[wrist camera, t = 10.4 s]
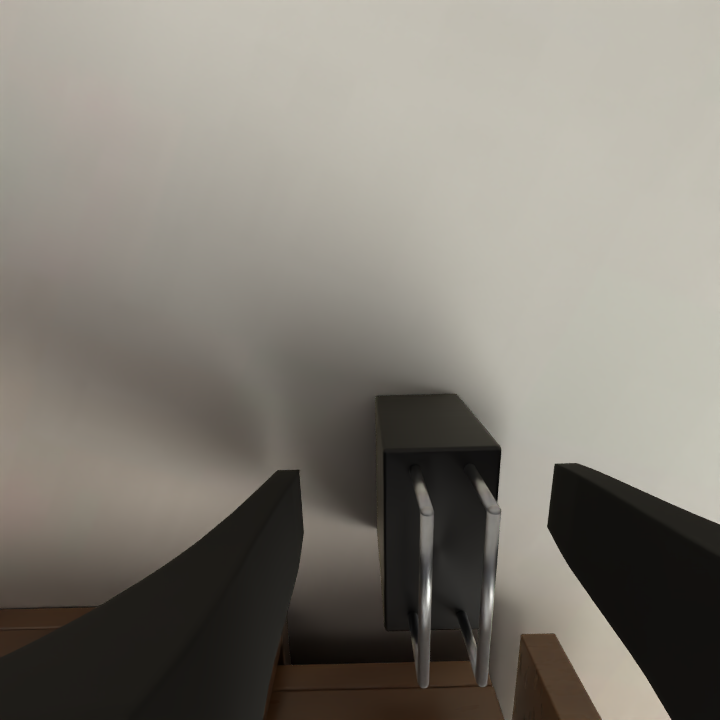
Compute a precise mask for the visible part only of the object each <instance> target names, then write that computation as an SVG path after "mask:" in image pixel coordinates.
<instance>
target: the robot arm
mask: <svg viewBox="0 0 720 720" xmlns="http://www.w3.org/2000/svg"><path fill="white" fill-rule="evenodd" d="M547 527H548V529H549V531H550V533H551V535H552V537H553V539H554V541H555V543H556V544H557V546H558V548H559V550H560V552H561V554H562V555H563V557H564V559H565V561H566V562H567V564H568V565H569V567H570V568H571V570H572V571H573V573H574V574H575V576H576V577H577V579H578V580H579V581H580V583H581V584H582V586H583V587H584V589H585V590H586V591H587V593H588V594H589V596H590V597H591V599H592V600H593V601H594V603H595V604H596V606H597V607H598V608H599V610H600V611H601V613H602V614H603V615H604V617H605V618H606V620H607V621H608V623H609V624H610V625H611V627H612V628H613V630H614V631H615V632H616V634H617V635H618V637H619V638H620V639H621V641H622V642H623V644H624V645H625V646H626V648H627V649H628V651H629V652H630V654H631V655H632V657H633V658H634V660H635V661H636V663H637V664H638V666H639V667H640V669H641V670H642V672H643V673H644V675H645V676H646V678H647V679H648V681H649V683H650V684H651V686H652V688H653V689H654V691H655V693H656V694H657V696H658V698H659V699H660V701H661V703H662V704H663V706H664V708H665V709H666V711H667V713H668V715H669V716H670V718H671V720H720V524H717V523H715V522H712V521H710V520H707V519H705V518H703V517H700V516H698V515H695V514H693V513H691V512H688V511H686V510H684V509H681V508H679V507H677V506H675V505H672V504H670V503H668V502H666V501H663V500H661V499H659V498H657V497H654V496H652V495H650V494H648V493H645V492H643V491H641V490H639V489H637V488H634V487H632V486H630V485H628V484H626V483H623V482H621V481H619V480H617V479H615V478H612V477H610V476H608V475H605V474H603V473H601V472H599V471H596V470H594V469H591V468H589V467H586V466H583V465H580V464H577V463H566V464H555V466H554V474H553V483H552V491H551V500H550V508H549V516H548V525H547ZM303 534H304V530H303V516H302V502H301V488H300V475H299V470H278V471H277V472H275V473H274V474H273V475H272V476H271V477H270V478H269V479H268V480H267V481H266V482H265V483H264V484H263V485H262V486H261V487H260V488H259V489H258V490H256V491H255V492H254V493H253V494H252V495H251V496H250V497H249V498H248V499H247V500H246V501H245V502H244V503H243V504H242V505H240V506H239V507H238V508H237V509H236V510H235V511H234V512H233V513H232V514H230V515H229V516H228V517H227V518H226V519H224V520H223V521H222V522H221V523H220V524H218V525H217V526H216V527H215V528H214V529H212V530H211V531H210V532H209V533H208V534H206V535H205V536H204V537H203V538H202V539H200V540H199V541H198V542H196V543H195V544H194V545H192V546H191V547H190V548H188V549H187V550H186V551H184V552H183V553H182V554H180V555H179V556H177V557H176V558H175V559H173V560H172V561H170V562H169V563H167V564H166V565H165V566H163V567H162V568H160V569H159V570H157V571H156V572H154V573H153V574H151V575H149V576H148V577H146V578H145V579H143V580H141V581H140V582H138V583H136V584H135V585H133V586H132V587H130V588H128V589H127V590H125V591H124V592H122V593H120V594H119V595H117V596H115V597H114V598H112V599H111V600H109V601H107V602H106V603H104V604H102V605H100V606H99V607H97V608H95V609H93V610H91V611H90V612H88V613H86V614H84V615H82V616H81V617H79V618H77V619H75V620H73V621H72V622H70V623H68V624H66V625H64V626H62V627H60V628H58V629H56V630H54V631H53V632H51V633H49V634H47V635H45V636H43V637H41V638H39V639H37V640H35V641H33V642H31V643H29V644H27V645H25V646H23V647H21V648H19V649H17V650H15V651H13V652H11V653H9V654H7V655H5V656H2V657H0V720H263V716H264V710H265V705H266V699H267V694H268V688H269V683H270V679H271V674H272V670H273V665H274V661H275V657H276V653H277V649H278V646H279V642H280V638H281V634H282V630H283V627H284V623H285V619H286V615H287V611H288V608H289V604H290V600H291V596H292V592H293V588H294V584H295V581H296V577H297V573H298V569H299V562H300V555H301V548H302V541H303Z"/></svg>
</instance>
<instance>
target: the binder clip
mask: <svg viewBox="0 0 720 720" xmlns="http://www.w3.org/2000/svg"><path fill="white" fill-rule="evenodd" d="M375 424H376V490H377V536H378V549H379V563H380V576H381V590H382V603H383V616H384V627H385V629H386V631H410V634H411V641H412V648H413V655H414V661H415V668H416V675H417V682H418V685H419V686H420V687H421V688H423V689H425V688H427V687H428V685H429V667H430V633H431V630H455V629H461V632H462V636H463V639H464V642H465V646H466V649H467V653H468V656H469V660H470V663H471V667H472V670H473V673H474V677H475V680H476V683H477V684H478V685H479V686H480V687H485V686H486V685H487V680H488V668H489V655H490V643H491V631H492V618H493V606H494V593H495V581H496V568H497V556H498V543H499V531H500V519H501V509H500V507H499V505H498V504H497V499H498V486H499V473H500V460H501V447H500V445H499V444H498V443H497V442H496V441H495V439H494V438H493V437H492V436H491V435H490V433H489V432H488V431H487V430H486V429H485V427H484V426H483V425H482V424H481V423H480V421H479V420H478V419H477V418H476V417H475V415H474V414H473V413H472V412H471V411H470V409H469V408H468V407H467V406H466V405H465V403H464V402H463V401H462V400H461V399H460V397H459V396H458V395H457V394H431V395H390V396H376V398H375ZM471 629H478V643H477V645H476V642H475V639H474V636H473V633H472V630H471Z"/></svg>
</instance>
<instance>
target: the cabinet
mask: <svg viewBox="0 0 720 720" xmlns="http://www.w3.org/2000/svg"><path fill="white" fill-rule="evenodd" d="M95 608H97V607H83V608H42V609H0V657H2V656H5V655H7V654H9V653H11V652H13V651H15V650H17V649H19V648H21V647H23V646H25V645H27V644H29V643H31V642H33V641H35V640H37V639H39V638H41V637H43V636H45V635H47V634H49V633H51V632H53V631H54V630H56V629H58V628H60V627H62V626H64V625H66V624H68V623H70V622H72V621H73V620H75V619H77V618H79V617H81V616H82V615H84V614H86V613H88V612H90V611H91V610H93V609H95ZM277 665H291V658H290V647H289V636H288V625H287V615H286V619H285V623H284V627H283V630H282V634H281V638H280V642H279V646H278V649H277V653H276V657H275V661H274V665H273V670H272V674H271V679H270V683H269V688H268V694H267V699H266V705H265V710H264V716H263V720H266V718H267V713H268V708H269V703H270V698H271V694H272V689H273V684H274V679H275V674H276V669H277Z"/></svg>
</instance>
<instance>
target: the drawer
mask: <svg viewBox="0 0 720 720" xmlns="http://www.w3.org/2000/svg"><path fill="white" fill-rule="evenodd" d="M266 720H504V717H503V714H502V711H501V708H500V705H499V702H498V699H497V696H496V693H495V690H494V687H493V686H492V682H491V679H490V676H489V673H488V680H487V685H486V686H485V687H480V686H479V685H478V684H477V683H476V680H475V677H474V673H473V670H472V667H471V663H470V661H435V662H430V667H429V685H428V687H427V688H425V689H423V688H421V687H420V686H419V685H418V682H417V675H416V668H415V662H393V663H351V664H310V665H277V669H276V674H275V679H274V684H273V689H272V694H271V698H270V703H269V708H268V713H267V718H266ZM512 720H602V719H601V717H600V715H599V714H598V712H597V710H596V708H595V706H594V705H593V703H592V701H591V699H590V697H589V695H588V694H587V692H586V690H585V688H584V686H583V684H582V683H581V681H580V679H579V677H578V675H577V674H576V672H575V670H574V668H573V666H572V664H571V663H570V661H569V659H568V657H567V655H566V654H565V652H564V650H563V648H562V646H561V644H560V643H559V641H558V639H557V637H556V635H555V634H553V633H550V634H522V635H521V639H520V649H519V658H518V668H517V677H516V687H515V696H514V706H513V715H512Z"/></svg>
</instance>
